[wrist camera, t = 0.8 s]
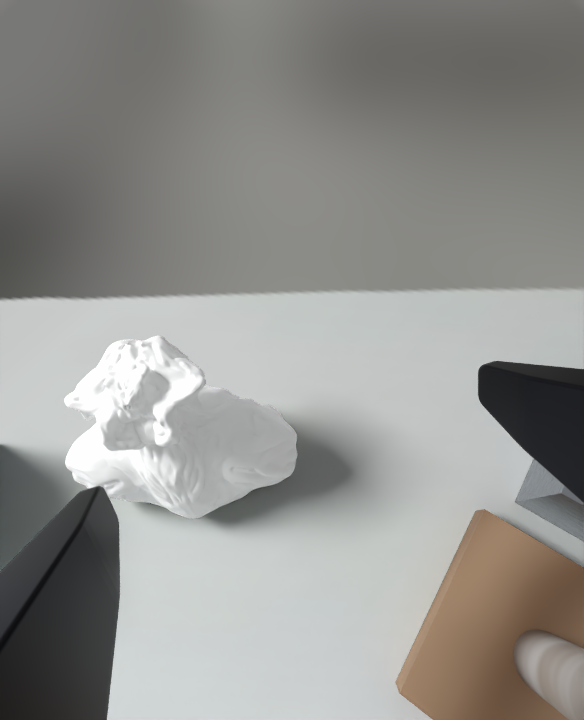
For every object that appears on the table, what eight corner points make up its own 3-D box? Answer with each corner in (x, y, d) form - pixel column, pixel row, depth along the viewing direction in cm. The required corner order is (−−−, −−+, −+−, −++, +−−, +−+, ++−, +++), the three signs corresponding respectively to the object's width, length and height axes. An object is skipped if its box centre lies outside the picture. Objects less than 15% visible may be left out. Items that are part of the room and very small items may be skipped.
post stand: (663, 623, 19) (810, 663, 13) (598, 839, 16) (744, 1012, 10) (475, 511, 22) (526, 501, 16) (395, 682, 19) (419, 748, 13)
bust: (306, 449, 26) (278, 280, 21) (310, 555, 19) (271, 347, 14) (127, 468, 27) (56, 311, 22) (72, 576, 20) (-49, 387, 15)
